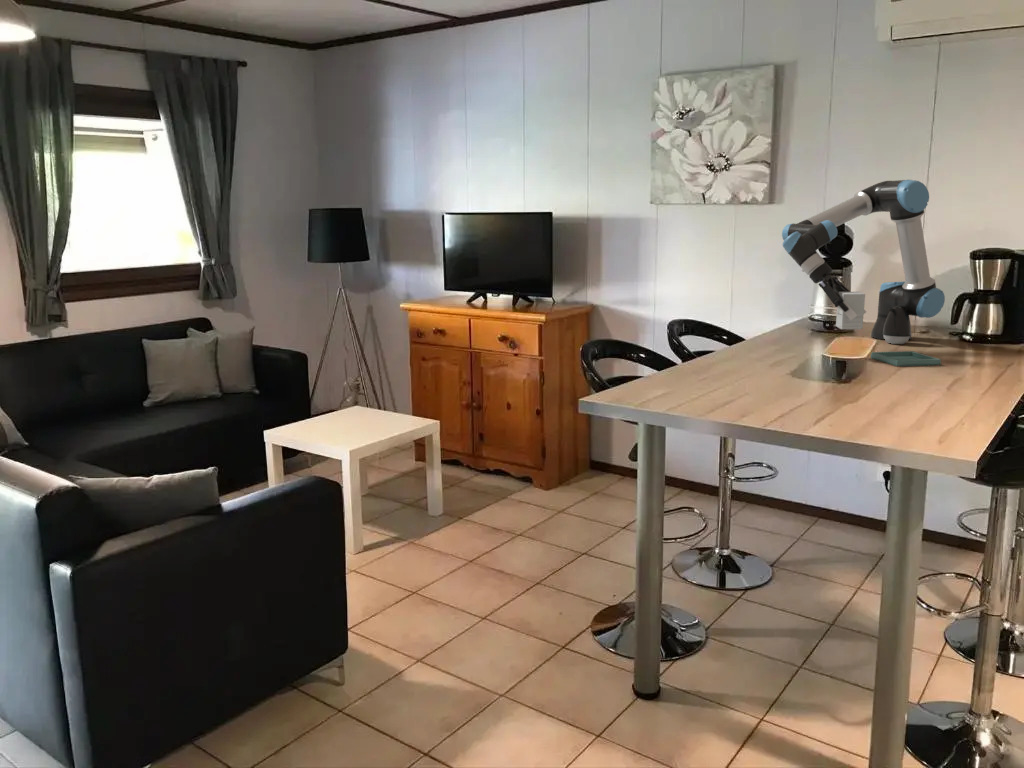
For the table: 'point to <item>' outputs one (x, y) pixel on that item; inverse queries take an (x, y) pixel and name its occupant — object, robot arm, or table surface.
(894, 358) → the tray
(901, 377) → the table surface
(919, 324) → the table surface
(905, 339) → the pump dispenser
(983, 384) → the table surface
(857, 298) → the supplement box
